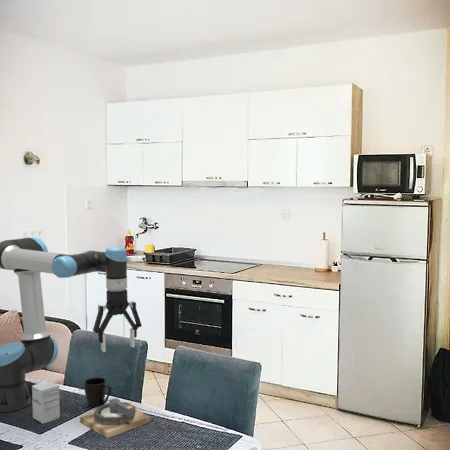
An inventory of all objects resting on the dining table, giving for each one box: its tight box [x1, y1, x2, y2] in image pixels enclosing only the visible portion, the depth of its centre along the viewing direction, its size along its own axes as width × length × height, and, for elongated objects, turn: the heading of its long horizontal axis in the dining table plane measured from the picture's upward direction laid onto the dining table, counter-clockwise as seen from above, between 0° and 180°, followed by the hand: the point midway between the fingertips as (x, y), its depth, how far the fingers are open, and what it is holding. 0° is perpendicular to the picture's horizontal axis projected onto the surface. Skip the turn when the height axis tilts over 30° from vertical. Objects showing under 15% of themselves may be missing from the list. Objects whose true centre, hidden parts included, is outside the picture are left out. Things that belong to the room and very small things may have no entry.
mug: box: [84, 377, 113, 408], centre depth 212 cm, size 8×12×10 cm
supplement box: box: [31, 380, 61, 425], centre depth 201 cm, size 7×7×13 cm
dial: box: [101, 398, 133, 417], centre depth 196 cm, size 15×10×6 cm, turn 45°
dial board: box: [79, 401, 151, 439], centre depth 198 cm, size 18×18×4 cm
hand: (118, 348), depth 201 cm, fingers open, 10 cm apart
